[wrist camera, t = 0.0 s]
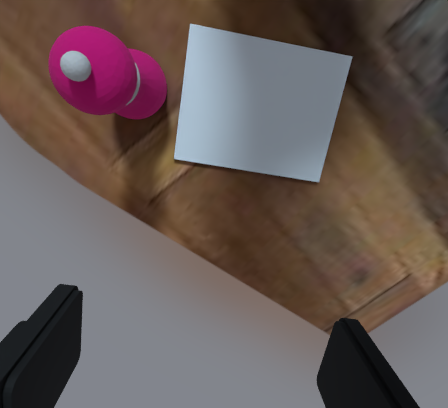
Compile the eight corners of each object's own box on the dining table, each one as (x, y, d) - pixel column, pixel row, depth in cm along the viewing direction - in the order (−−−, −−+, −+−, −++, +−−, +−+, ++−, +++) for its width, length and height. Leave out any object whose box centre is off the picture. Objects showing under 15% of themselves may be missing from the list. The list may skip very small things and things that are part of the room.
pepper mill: (181, 78, 37) (150, 43, 18) (154, 129, 39) (99, 147, 20) (128, 43, 36) (34, -34, 17) (102, 98, 37) (-11, 84, 18)
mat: (190, 25, 35) (190, 23, 35) (350, 57, 37) (352, 56, 37) (174, 158, 40) (173, 158, 39) (317, 181, 42) (318, 182, 41)
